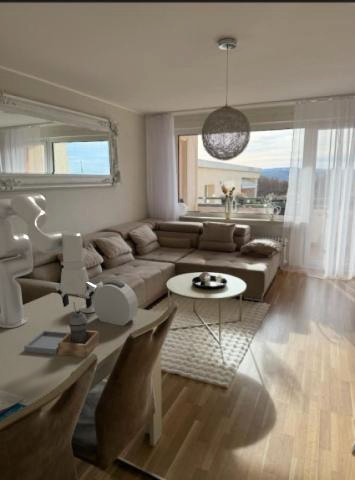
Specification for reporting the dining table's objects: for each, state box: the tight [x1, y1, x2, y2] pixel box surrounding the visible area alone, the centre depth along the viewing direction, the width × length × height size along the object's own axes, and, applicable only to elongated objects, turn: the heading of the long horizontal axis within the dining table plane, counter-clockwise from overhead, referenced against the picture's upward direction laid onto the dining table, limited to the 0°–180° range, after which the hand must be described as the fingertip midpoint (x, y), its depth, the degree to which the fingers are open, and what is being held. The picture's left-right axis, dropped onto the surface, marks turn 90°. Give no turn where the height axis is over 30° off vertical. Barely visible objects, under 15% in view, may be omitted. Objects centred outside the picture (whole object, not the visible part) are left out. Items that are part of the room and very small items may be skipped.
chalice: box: [76, 278, 104, 314], centre depth 175 cm, size 14×14×15 cm
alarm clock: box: [93, 279, 139, 327], centre depth 161 cm, size 21×8×20 cm, turn 65°
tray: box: [23, 330, 70, 355], centre depth 140 cm, size 14×14×2 cm
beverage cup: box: [68, 301, 88, 344], centre depth 135 cm, size 7×7×20 cm
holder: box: [58, 329, 101, 358], centre depth 136 cm, size 12×12×5 cm
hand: (77, 306), depth 133 cm, fingers open, 9 cm apart
